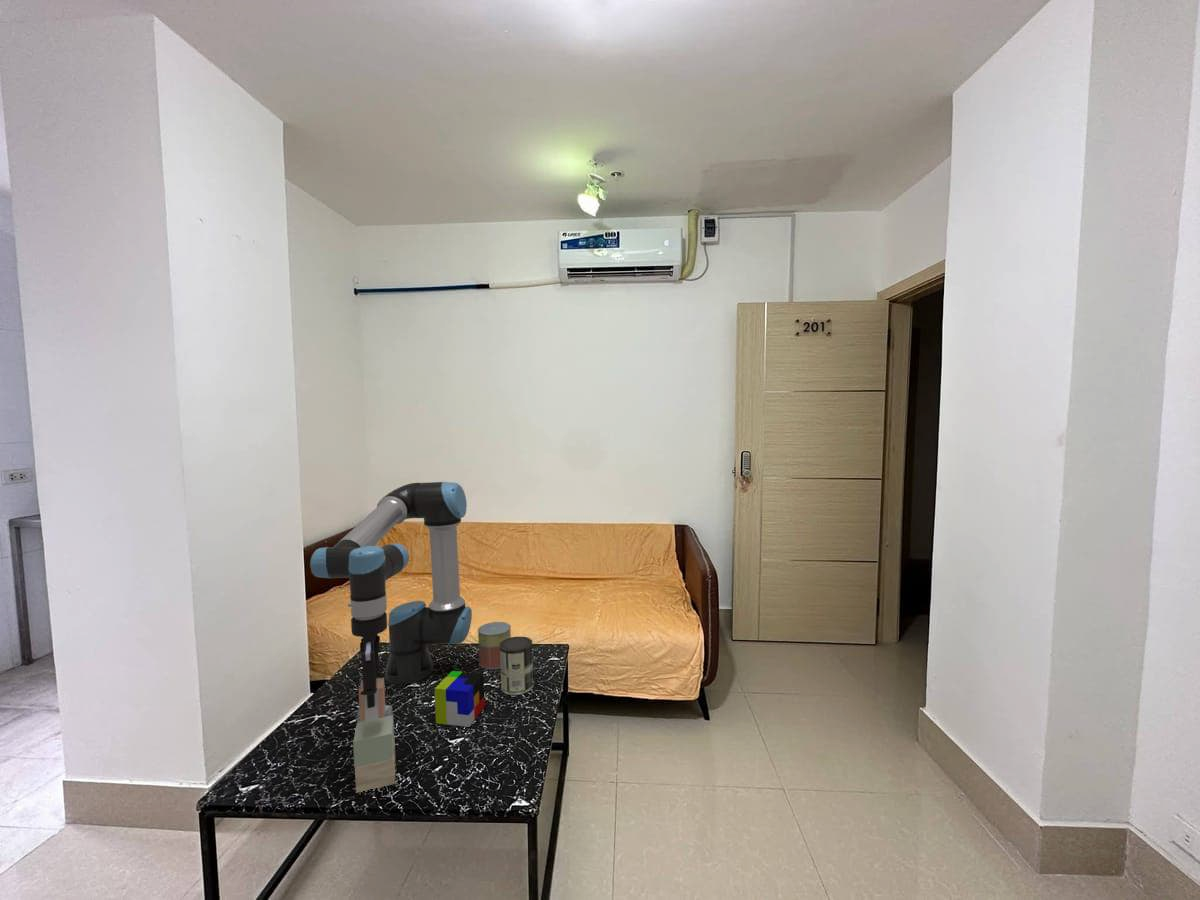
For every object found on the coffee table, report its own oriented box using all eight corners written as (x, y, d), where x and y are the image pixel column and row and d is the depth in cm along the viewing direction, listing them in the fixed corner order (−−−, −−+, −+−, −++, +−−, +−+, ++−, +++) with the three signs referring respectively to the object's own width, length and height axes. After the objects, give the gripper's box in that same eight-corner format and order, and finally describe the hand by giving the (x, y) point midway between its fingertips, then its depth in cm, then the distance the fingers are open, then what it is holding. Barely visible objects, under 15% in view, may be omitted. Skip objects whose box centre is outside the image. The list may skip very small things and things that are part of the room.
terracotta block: (362, 710, 117) (361, 681, 116) (385, 706, 118) (384, 677, 118) (359, 722, 112) (358, 692, 112) (383, 717, 114) (382, 687, 113)
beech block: (359, 771, 118) (358, 747, 118) (395, 762, 121) (394, 739, 121) (356, 794, 111) (355, 768, 111) (394, 784, 114) (393, 759, 113)
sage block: (358, 746, 118) (357, 722, 118) (394, 738, 121) (393, 715, 121) (354, 768, 111) (353, 742, 110) (392, 758, 114) (391, 733, 113)
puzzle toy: (469, 727, 135) (467, 691, 135) (435, 723, 137) (434, 688, 137) (484, 706, 145) (483, 673, 144) (453, 703, 147) (452, 671, 147)
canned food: (507, 651, 181) (506, 619, 180) (515, 664, 170) (514, 630, 170) (476, 658, 176) (474, 625, 175) (482, 672, 166) (481, 637, 165)
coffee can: (524, 675, 163) (523, 633, 162) (539, 688, 154) (537, 644, 154) (495, 684, 157) (494, 641, 157) (508, 699, 149) (507, 653, 148)
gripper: (355, 604, 121) (359, 696, 122) (345, 631, 104) (350, 738, 105) (388, 600, 124) (391, 690, 125) (384, 625, 107) (388, 730, 108)
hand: (372, 712), depth 115 cm, fingers closed on terracotta block, 5 cm apart
